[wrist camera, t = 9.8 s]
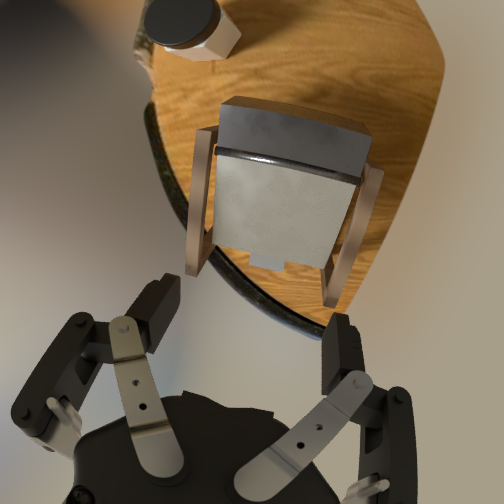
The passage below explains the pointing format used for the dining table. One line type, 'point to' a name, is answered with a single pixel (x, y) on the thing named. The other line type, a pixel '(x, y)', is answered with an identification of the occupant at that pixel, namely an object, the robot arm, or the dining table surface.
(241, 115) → the trapdoor
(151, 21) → the jar
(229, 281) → the dining table surface
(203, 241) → the frame
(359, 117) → the dining table surface
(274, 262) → the gray cube
